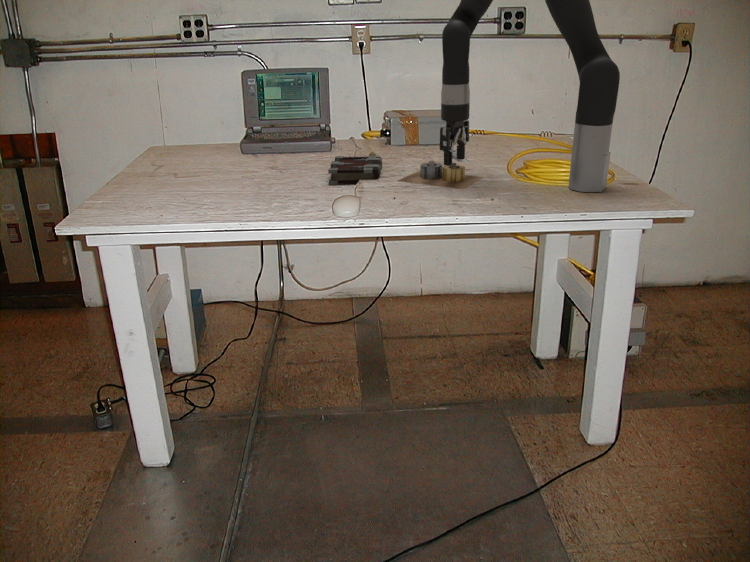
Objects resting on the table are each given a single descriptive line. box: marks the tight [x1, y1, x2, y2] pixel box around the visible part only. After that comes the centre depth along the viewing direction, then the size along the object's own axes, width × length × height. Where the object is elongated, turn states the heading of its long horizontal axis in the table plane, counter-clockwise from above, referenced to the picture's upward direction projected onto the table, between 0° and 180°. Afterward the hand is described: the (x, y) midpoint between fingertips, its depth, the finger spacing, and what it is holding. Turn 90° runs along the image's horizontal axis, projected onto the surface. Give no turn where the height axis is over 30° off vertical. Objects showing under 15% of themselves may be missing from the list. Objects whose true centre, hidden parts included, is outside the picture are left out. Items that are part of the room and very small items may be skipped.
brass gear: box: [443, 164, 466, 182], centre depth 172 cm, size 6×6×4 cm
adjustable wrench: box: [452, 149, 472, 163], centre depth 199 cm, size 25×6×2 cm, turn 6°
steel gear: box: [419, 162, 444, 180], centre depth 175 cm, size 6×6×4 cm
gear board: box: [397, 160, 484, 190], centre depth 173 cm, size 20×14×6 cm
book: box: [327, 151, 383, 186], centre depth 186 cm, size 15×25×5 cm, turn 177°
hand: (454, 162), depth 171 cm, fingers open, 8 cm apart
